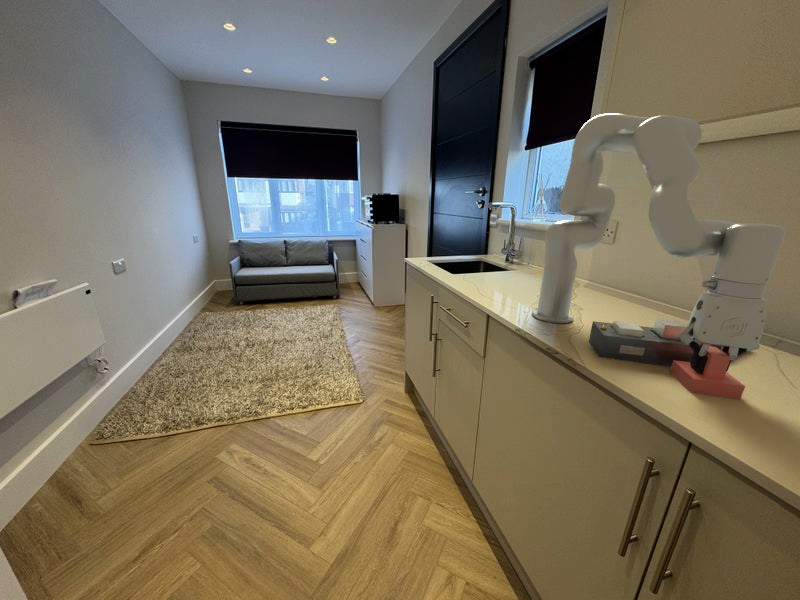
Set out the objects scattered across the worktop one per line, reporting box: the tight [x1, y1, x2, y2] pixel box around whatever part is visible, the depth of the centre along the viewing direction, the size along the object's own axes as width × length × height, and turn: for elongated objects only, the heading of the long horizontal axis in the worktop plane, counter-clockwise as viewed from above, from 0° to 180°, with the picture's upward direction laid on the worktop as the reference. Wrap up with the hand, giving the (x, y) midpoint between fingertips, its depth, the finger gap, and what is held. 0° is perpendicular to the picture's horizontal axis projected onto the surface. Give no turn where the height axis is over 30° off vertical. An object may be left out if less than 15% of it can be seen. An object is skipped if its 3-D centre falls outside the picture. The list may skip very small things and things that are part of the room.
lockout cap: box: [669, 346, 746, 400], centre depth 67 cm, size 8×8×8 cm
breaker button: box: [612, 320, 644, 337], centre depth 81 cm, size 5×5×4 cm
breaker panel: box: [588, 317, 695, 368], centre depth 79 cm, size 10×22×10 cm, turn 73°
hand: (706, 371), depth 67 cm, fingers closed on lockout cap, 3 cm apart
